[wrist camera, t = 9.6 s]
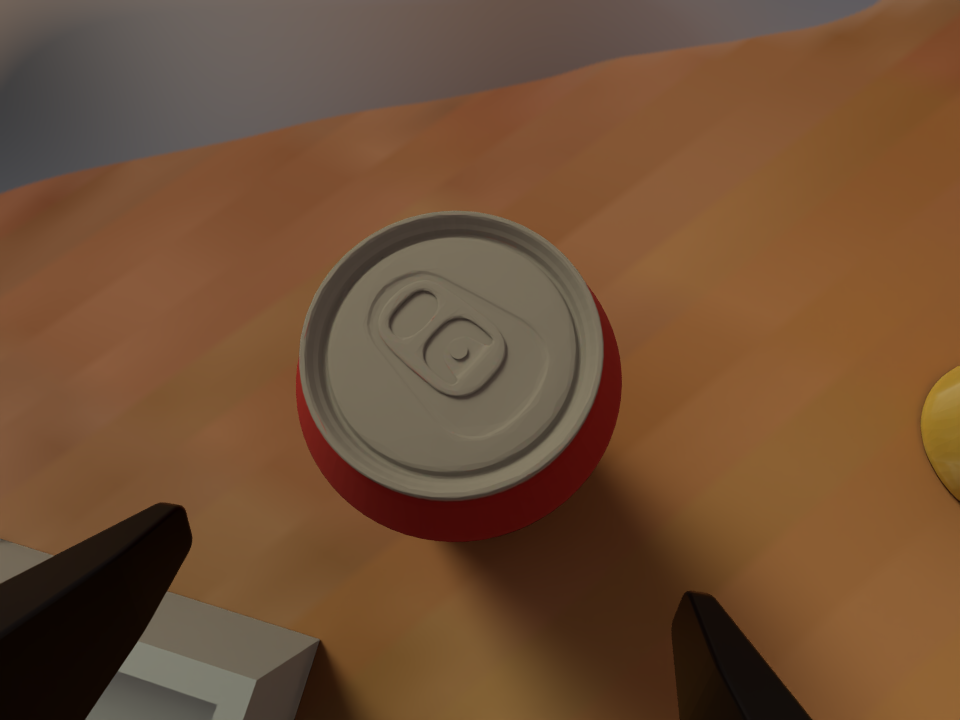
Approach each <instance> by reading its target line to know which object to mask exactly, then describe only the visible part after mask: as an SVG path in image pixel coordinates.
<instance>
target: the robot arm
mask: <svg viewBox="0 0 960 720" xmlns="http://www.w3.org/2000/svg"><path fill="white" fill-rule="evenodd" d="M191 544H192V533H191V529H190V525H189V521H188V517H187V513H186V510H185V508H184V507H183V506H181V505H177V504H171V503H158V504H155V505H153V506H151V507H149V508H147V509H145V510H143V511H141V512H139V513H137V514H135V515H133V516H131V517H129V518H127V519H126V520H124V521H122V522H120V523H118V524H116V525H114V526H112V527H110V528H108V529H106V530H104V531H102V532H100V533H98V534H96V535H94V536H92V537H90V538H88V539H86V540H84V541H82V542H80V543H79V544H77V545H75V546H73V547H71V548H69V549H67V550H65V551H63V552H61V553H59V554H57V555H55V556H53V557H51V558H49V559H47V560H45V561H43V562H41V563H39V564H37V565H35V566H33V567H31V568H30V569H28V570H26V571H24V572H22V573H20V574H18V575H16V576H14V577H12V578H10V579H8V580H6V581H4V582H2V583H0V720H85V719H86V718H87V716H88V715H89V713H90V712H91V710H92V709H93V707H94V706H95V704H96V703H97V701H98V700H99V698H100V697H101V695H102V694H103V693H104V691H105V690H106V688H107V687H108V685H109V684H110V682H111V681H112V679H113V678H114V676H115V675H116V673H117V672H118V670H119V669H120V667H121V666H122V664H123V663H124V661H125V660H126V658H127V657H128V656H129V654H130V653H131V651H132V650H133V648H134V647H135V645H136V644H137V642H138V640H139V639H140V637H141V636H142V634H143V633H144V631H145V630H146V628H147V626H148V624H149V623H150V621H151V619H152V618H153V616H154V614H155V612H156V610H157V609H158V607H159V605H160V603H161V601H162V599H163V598H164V596H165V594H166V592H167V590H168V589H169V587H170V585H171V583H172V581H173V580H174V578H175V576H176V574H177V572H178V570H179V569H180V567H181V565H182V563H183V561H184V560H185V558H186V556H187V554H188V552H189V550H190V548H191ZM672 644H673V654H674V665H675V675H676V686H677V696H678V707H679V717H680V720H812V719H811V717H810V716H809V715H808V714H807V712H806V711H805V710H804V709H803V707H802V706H801V705H800V704H799V702H798V701H797V700H796V699H795V697H794V696H793V695H792V694H791V692H790V691H789V690H788V689H787V687H786V686H785V685H784V684H783V682H782V681H781V680H780V679H779V677H778V676H777V675H776V674H775V672H774V671H773V670H772V669H771V667H770V666H769V665H768V664H767V662H766V661H765V660H764V659H763V657H762V656H761V655H760V654H759V652H758V651H757V650H756V649H755V647H754V646H753V645H752V644H751V642H750V641H749V640H748V639H747V637H746V636H745V635H744V634H743V632H742V631H741V630H740V629H739V627H738V626H737V625H736V624H735V622H734V621H733V620H732V619H731V617H730V616H729V615H728V614H727V612H726V611H725V610H724V609H723V607H722V606H721V605H720V604H719V602H718V601H717V600H716V599H715V598H714V597H713V596H712V595H710V594H707V593H702V592H696V591H686V592H685V593H684V595H683V597H682V599H681V602H680V604H679V607H678V609H677V611H676V614H675V616H674V619H673V622H672Z"/></svg>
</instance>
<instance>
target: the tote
mask: <svg viewBox="0 0 960 720" xmlns="http://www.w3.org/2000/svg"><path fill="white" fill-rule="evenodd" d="M53 556H54V555H50V554H47V553H44V552H41V551H38V550H34V549H31V548H28V547H25V546H22V545H19V544H15V543H12V542H9V541H6V540H3V539H0V583H2V582H4V581H6V580H8V579H10V578H12V577H14V576H16V575H18V574H20V573H22V572H24V571H26V570H28V569H30V568H31V567H33V566H35V565H37V564H39V563H41V562H43V561H45V560H47V559H49V558H51V557H53ZM319 641H320V639H317V638H314V637H311V636H308V635H304V634H301V633H298V632H295V631H292V630H289V629H285V628H282V627H279V626H276V625H273V624H270V623H266V622H263V621H260V620H257V619H254V618H250V617H247V616H244V615H241V614H238V613H235V612H231V611H228V610H225V609H222V608H219V607H216V606H212V605H209V604H206V603H203V602H200V601H196V600H193V599H190V598H187V597H184V596H181V595H177V594H174V593H171V592H168V591H167V592H166V594H165V596H164V598H163V599H162V601H161V603H160V605H159V607H158V609H157V610H156V612H155V614H154V616H153V618H152V619H151V621H150V623H149V624H148V626H147V628H146V630H145V631H144V633H143V634H142V636H141V637H140V639H139V640H138V642H137V644H136V645H135V647H134V648H133V650H132V651H131V653H130V654H129V656H128V657H127V658H126V660H125V661H124V663H123V664H122V666H121V667H120V669H119V670H118V672H117V673H116V675H115V676H114V678H113V679H112V681H111V682H110V684H109V685H108V687H107V688H106V690H105V691H104V693H103V694H102V695H101V697H100V698H99V700H98V701H97V703H96V704H95V706H94V707H93V709H92V710H91V712H90V713H89V715H88V716H87V718H86V719H85V720H294V719H295V716H296V713H297V709H298V706H299V703H300V700H301V697H302V694H303V691H304V688H305V684H306V681H307V678H308V675H309V672H310V669H311V666H312V663H313V660H314V656H315V653H316V650H317V647H318V644H319Z"/></svg>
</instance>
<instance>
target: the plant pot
mask: <svg viewBox="0 0 960 720" xmlns="http://www.w3.org/2000/svg"><path fill="white" fill-rule="evenodd" d="M921 433H922V439H923V444H924V448H925V451H926V454H927V456H928V459H929V461H930V463H931V464H932V466H933V468H934V470H935V472H936V474H937V475H938V477H939V478H940V480H941V481H942V483H943V484H944V485H945V486H946V487H947V489H948V490H949V491H950V492H951V493H952V494H953V495H954V496H955V497H956V498H957V499H958V500H959V501H960V365H959V366H958V367H956V368H954V369H953V370H951V371H950V372H948V373H947V374H945V375H944V376H943V377H942V378H941V379H940V380H939V381H938V382H937V383H936V384H935V385H934V386H933V388H932V389H931V391H930V393H929V394H928V396H927V398H926V401H925V404H924V406H923V410H922V416H921Z"/></svg>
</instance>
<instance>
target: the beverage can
mask: <svg viewBox="0 0 960 720" xmlns="http://www.w3.org/2000/svg"><path fill="white" fill-rule="evenodd" d="M621 388H622V375H621V363H620V356H619V351H618V346H617V342H616V339H615V336H614V333H613V330H612V327H611V325H610V322H609V320H608V318H607V315H606V314H605V312H604V310H603V308H602V306H601V304H600V302H599V301H598V299H597V298H596V296H595V295H594V293H593V292H592V291H591V289H590V288H589V287H588V285H587V284H586V283H585V282H584V280H583V278H582V277H581V275H580V273H579V272H578V271H577V269H576V268H575V267H574V266H573V265H572V263H571V262H570V261H569V260H568V259H567V258H566V256H565V255H564V254H563V253H562V252H560V251H559V250H558V249H557V248H556V247H555V246H553V245H552V244H551V243H550V242H549V241H547V240H546V239H545V238H543V237H542V236H540V235H538V234H537V233H535V232H533V231H532V230H530V229H528V228H526V227H524V226H522V225H520V224H517V223H515V222H513V221H510V220H507V219H504V218H501V217H497V216H494V215H489V214H484V213H479V212H469V211H442V212H434V213H427V214H422V215H418V216H414V217H411V218H407V219H404V220H401V221H398V222H396V223H394V224H391V225H389V226H387V227H384V228H383V229H381V230H379V231H377V232H375V233H374V234H372V235H370V236H369V237H367V238H366V239H364V240H363V241H361V242H360V243H359V244H357V245H356V246H355V247H354V248H352V249H351V250H350V251H349V252H348V253H347V254H346V255H344V256H343V258H342V259H341V260H340V261H339V262H338V263H337V264H336V265H335V266H334V267H333V269H332V270H331V271H330V272H329V273H328V275H327V276H326V278H325V279H324V281H323V282H322V284H321V285H320V287H319V289H318V290H317V292H316V294H315V296H314V298H313V300H312V302H311V305H310V307H309V310H308V312H307V315H306V318H305V322H304V326H303V330H302V335H301V340H300V352H299V360H298V365H297V375H296V398H297V409H298V414H299V420H300V424H301V428H302V431H303V435H304V438H305V440H306V443H307V446H308V448H309V450H310V452H311V455H312V457H313V459H314V461H315V462H316V464H317V466H318V467H319V469H320V470H321V472H322V474H323V475H324V476H325V478H326V479H327V480H328V482H329V483H330V484H331V486H332V487H333V488H334V489H335V490H336V491H337V492H338V493H339V494H340V495H341V496H342V497H343V498H344V499H345V500H346V501H347V502H348V503H350V504H351V505H352V506H353V507H354V508H356V509H357V510H358V511H360V512H361V513H363V514H364V515H365V516H367V517H369V518H370V519H372V520H374V521H375V522H377V523H379V524H381V525H383V526H385V527H388V528H390V529H392V530H395V531H397V532H400V533H403V534H406V535H410V536H413V537H417V538H421V539H427V540H434V541H445V542H468V541H476V540H484V539H489V538H493V537H498V536H501V535H504V534H508V533H511V532H514V531H516V530H519V529H521V528H523V527H526V526H528V525H530V524H532V523H534V522H536V521H538V520H540V519H541V518H543V517H545V516H546V515H548V514H549V513H551V512H552V511H554V510H555V509H556V508H558V507H559V506H560V505H561V504H563V503H564V502H565V501H566V500H568V499H569V498H570V497H571V496H572V495H573V494H574V493H575V492H576V491H577V490H578V489H579V488H580V487H581V485H582V484H583V483H584V482H585V481H586V480H587V479H588V477H589V476H590V474H591V473H592V472H593V470H594V469H595V467H596V466H597V464H598V463H599V461H600V459H601V457H602V456H603V454H604V452H605V450H606V448H607V446H608V444H609V441H610V439H611V436H612V433H613V431H614V428H615V425H616V421H617V417H618V413H619V407H620V401H621Z"/></svg>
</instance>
